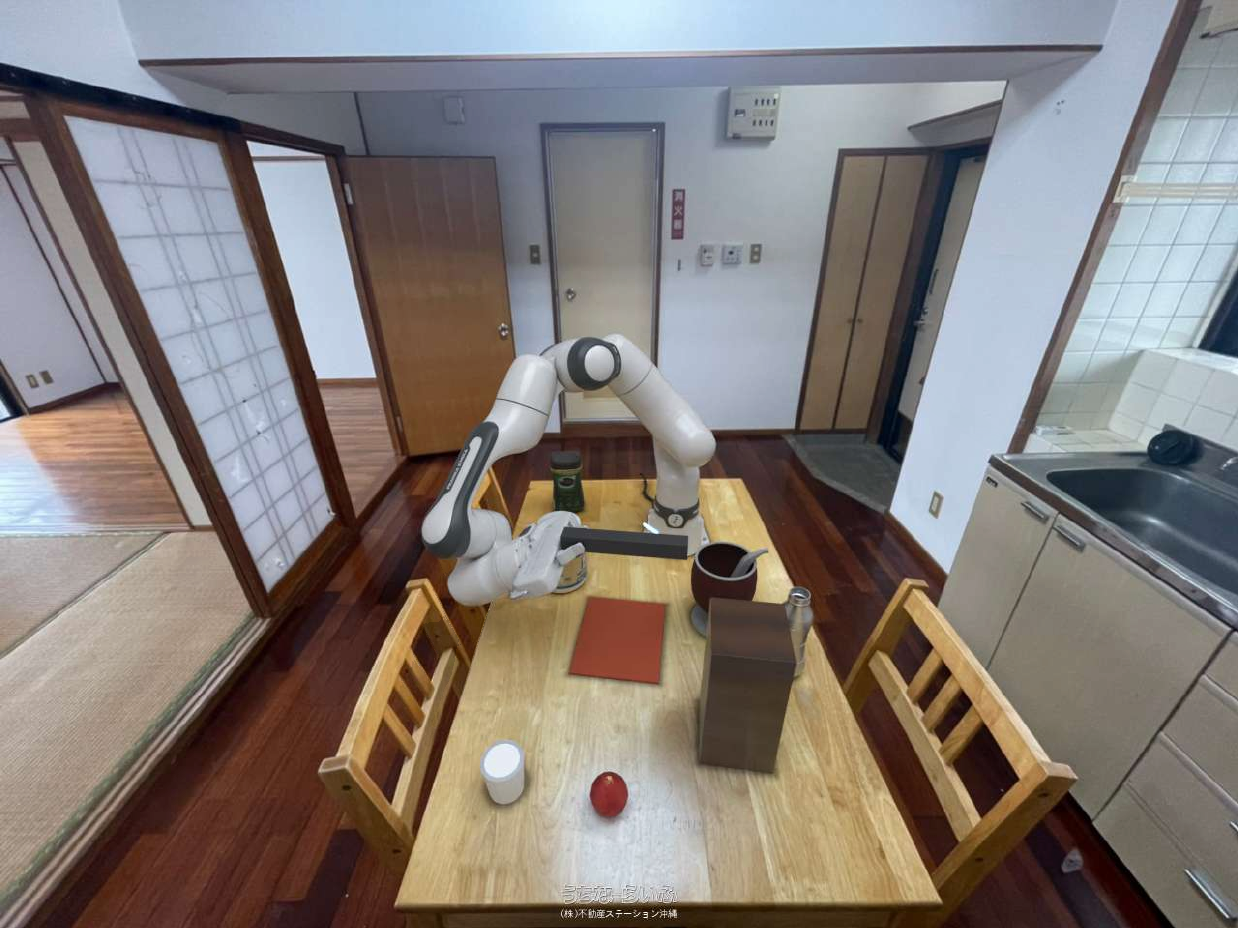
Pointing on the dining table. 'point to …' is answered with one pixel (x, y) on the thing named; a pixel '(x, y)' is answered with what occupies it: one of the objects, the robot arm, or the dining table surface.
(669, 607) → the dining table surface
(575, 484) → the coffee jar
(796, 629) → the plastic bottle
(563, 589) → the supplement tub
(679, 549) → the handle
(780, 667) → the tall wooden block
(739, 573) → the mate gourd
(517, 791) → the white short cylinder
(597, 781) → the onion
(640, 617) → the baking mat
